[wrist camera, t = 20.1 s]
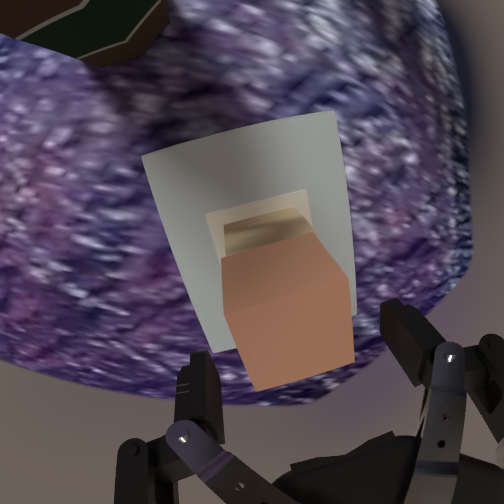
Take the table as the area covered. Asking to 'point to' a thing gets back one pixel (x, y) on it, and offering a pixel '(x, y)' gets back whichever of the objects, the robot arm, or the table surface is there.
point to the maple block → (265, 230)
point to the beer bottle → (86, 26)
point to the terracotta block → (288, 310)
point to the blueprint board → (249, 199)
